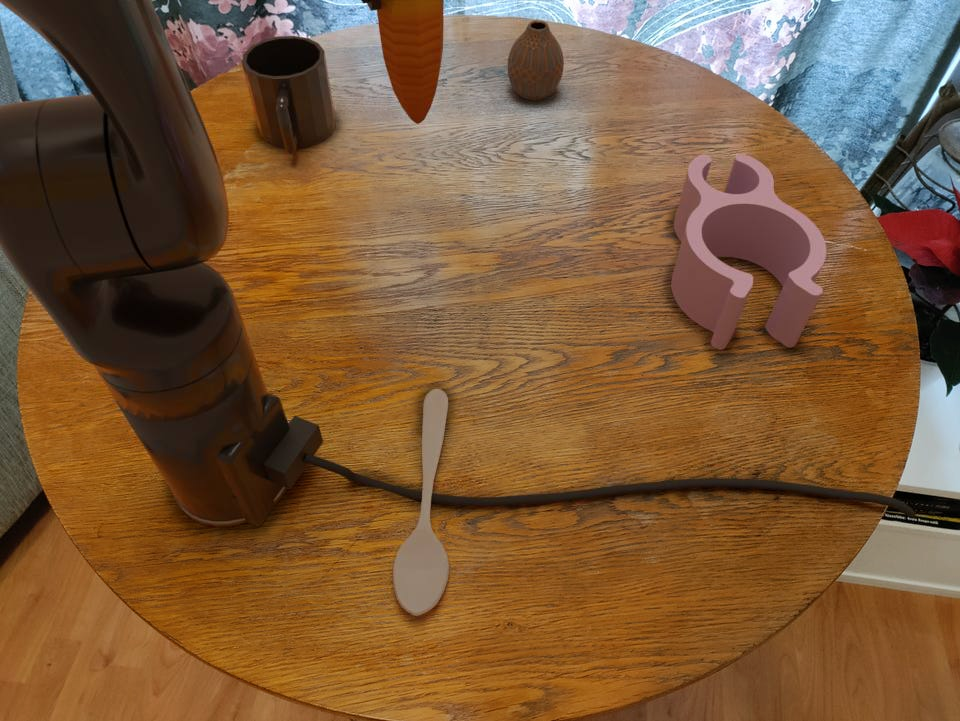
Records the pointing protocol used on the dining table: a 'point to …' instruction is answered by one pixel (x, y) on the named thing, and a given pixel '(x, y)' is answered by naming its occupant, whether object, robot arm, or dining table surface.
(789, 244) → the clip
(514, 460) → the dining table surface
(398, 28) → the carrot
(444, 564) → the spoon
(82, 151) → the robot arm
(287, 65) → the mug
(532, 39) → the vase
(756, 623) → the dining table surface
